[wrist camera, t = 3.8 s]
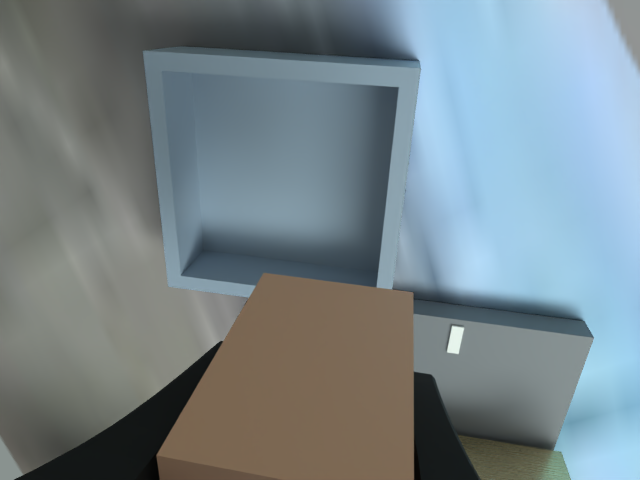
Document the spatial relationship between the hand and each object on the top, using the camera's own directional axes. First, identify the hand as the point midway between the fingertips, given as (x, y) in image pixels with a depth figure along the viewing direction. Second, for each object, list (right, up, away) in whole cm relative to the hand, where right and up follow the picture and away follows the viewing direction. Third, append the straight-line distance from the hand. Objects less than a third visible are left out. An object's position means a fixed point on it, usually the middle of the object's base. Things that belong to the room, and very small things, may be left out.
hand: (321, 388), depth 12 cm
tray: (-1, +7, +8) cm, 10 cm away
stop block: (0, +1, +1) cm, 2 cm away
